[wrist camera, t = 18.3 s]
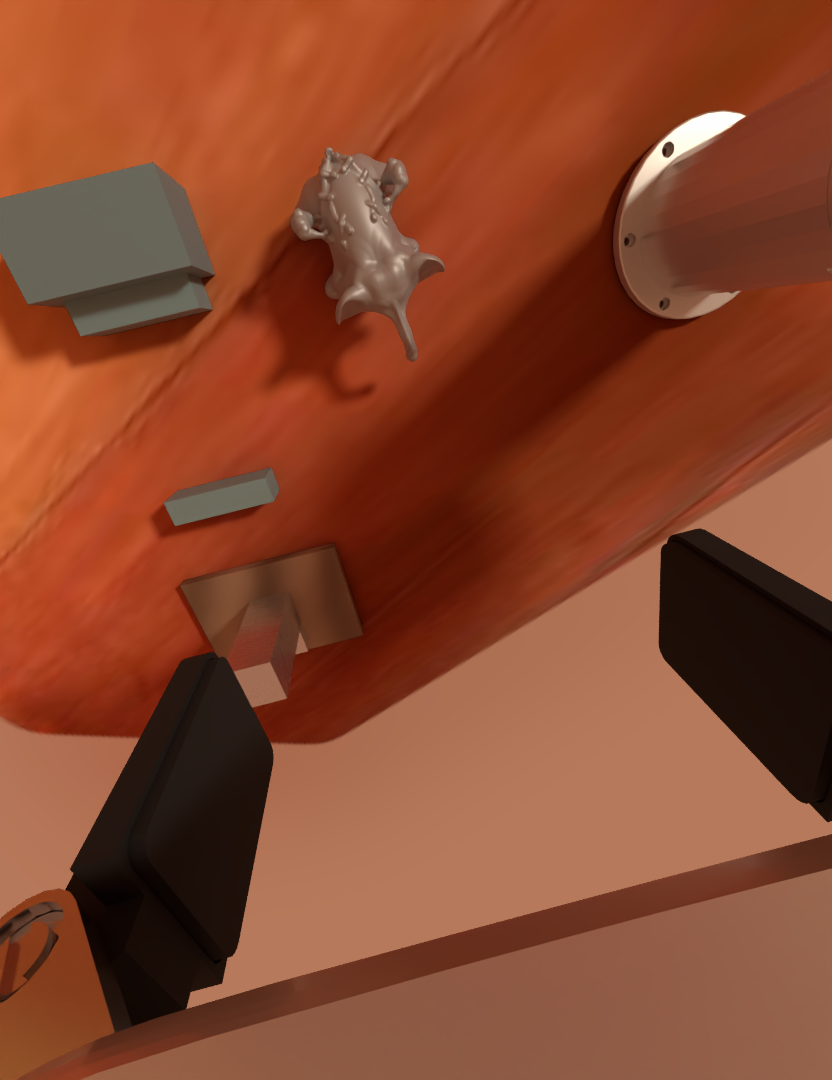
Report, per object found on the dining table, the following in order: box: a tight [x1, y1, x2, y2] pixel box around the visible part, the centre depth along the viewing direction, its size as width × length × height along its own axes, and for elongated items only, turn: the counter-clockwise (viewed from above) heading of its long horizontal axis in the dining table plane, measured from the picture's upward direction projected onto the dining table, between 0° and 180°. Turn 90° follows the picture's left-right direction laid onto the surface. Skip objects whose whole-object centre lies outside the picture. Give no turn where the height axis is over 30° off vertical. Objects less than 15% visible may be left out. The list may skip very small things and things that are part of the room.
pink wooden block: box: [227, 591, 310, 707], centre depth 38 cm, size 4×6×10 cm, turn 13°
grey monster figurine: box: [290, 147, 445, 362], centre depth 29 cm, size 9×12×8 cm
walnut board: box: [180, 543, 363, 659], centre depth 43 cm, size 14×10×1 cm
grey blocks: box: [0, 162, 280, 526], centre depth 32 cm, size 10×21×5 cm, turn 12°
